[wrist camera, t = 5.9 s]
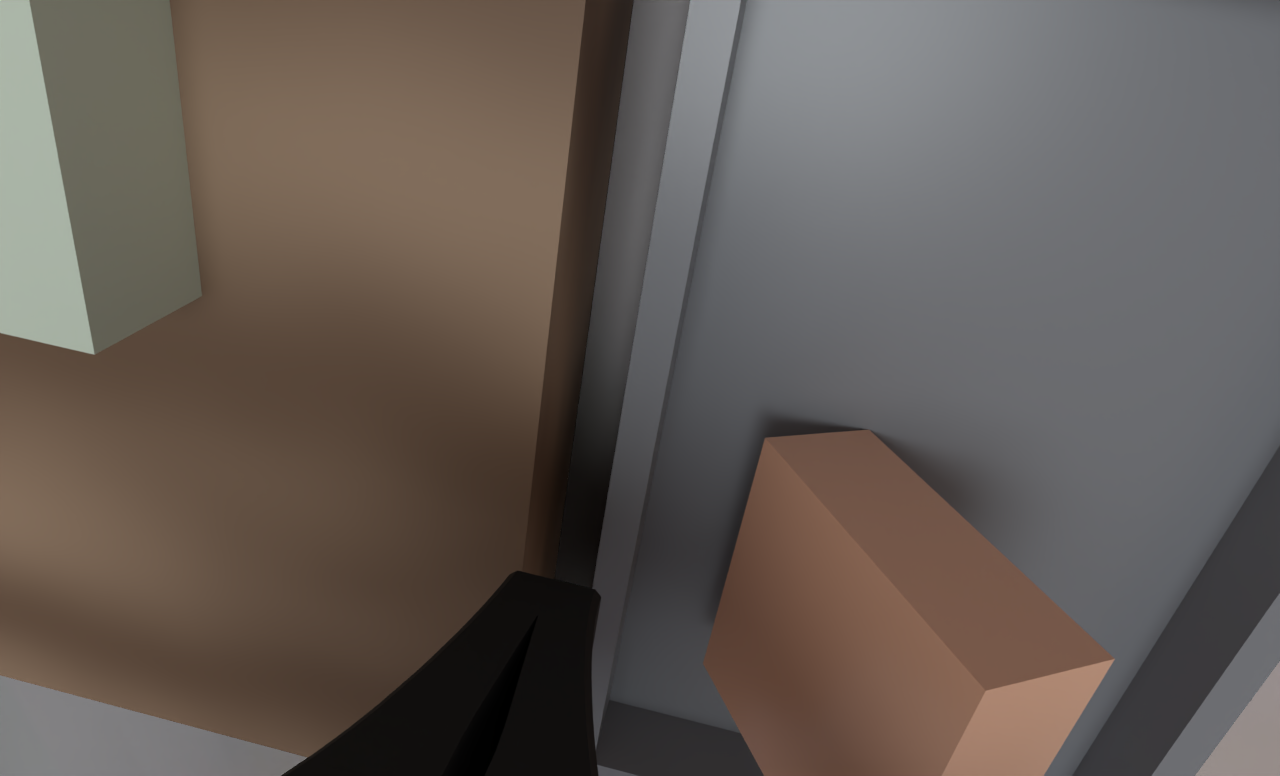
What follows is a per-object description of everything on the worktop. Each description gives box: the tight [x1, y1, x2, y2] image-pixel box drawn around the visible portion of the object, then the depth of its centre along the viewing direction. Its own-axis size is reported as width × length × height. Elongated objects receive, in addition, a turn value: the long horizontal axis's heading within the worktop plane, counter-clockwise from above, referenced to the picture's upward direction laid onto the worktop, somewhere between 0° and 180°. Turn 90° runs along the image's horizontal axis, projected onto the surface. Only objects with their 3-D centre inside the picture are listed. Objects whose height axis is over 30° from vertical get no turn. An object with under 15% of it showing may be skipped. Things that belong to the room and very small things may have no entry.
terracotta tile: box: [703, 430, 1115, 776], centre depth 12 cm, size 5×5×2 cm
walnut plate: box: [0, 0, 633, 757], centre depth 14 cm, size 16×15×3 cm
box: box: [592, 0, 1280, 776], centre depth 13 cm, size 16×10×2 cm, turn 171°
